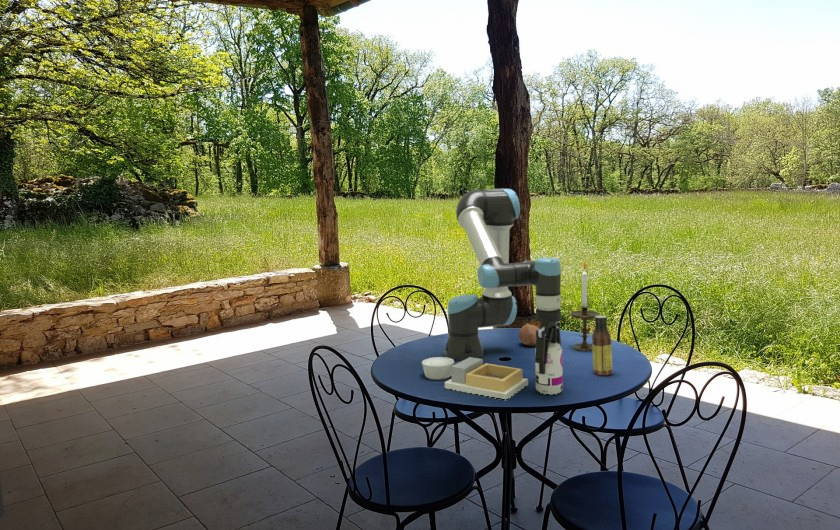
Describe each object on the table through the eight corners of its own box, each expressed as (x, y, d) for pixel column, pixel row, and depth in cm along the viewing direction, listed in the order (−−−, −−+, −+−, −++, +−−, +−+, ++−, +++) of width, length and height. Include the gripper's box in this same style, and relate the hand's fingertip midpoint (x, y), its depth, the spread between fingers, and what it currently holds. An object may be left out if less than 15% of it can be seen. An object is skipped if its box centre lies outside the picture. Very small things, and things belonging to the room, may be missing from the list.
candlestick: (574, 344, 222) (574, 259, 218) (601, 346, 216) (601, 260, 212) (567, 350, 213) (566, 262, 209) (595, 353, 207) (595, 263, 203)
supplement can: (560, 386, 173) (559, 340, 171) (564, 395, 165) (564, 347, 163) (534, 386, 174) (533, 341, 172) (537, 395, 165) (536, 348, 164)
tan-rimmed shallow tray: (444, 388, 175) (444, 367, 174) (469, 374, 188) (468, 355, 187) (506, 400, 162) (505, 378, 162) (528, 384, 175) (527, 364, 174)
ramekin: (417, 374, 191) (417, 359, 191) (446, 369, 196) (445, 355, 195) (430, 383, 181) (429, 367, 180) (460, 377, 185) (459, 362, 185)
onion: (523, 350, 226) (517, 327, 229) (545, 345, 224) (539, 321, 227) (520, 348, 217) (514, 324, 220) (543, 342, 215) (536, 318, 218)
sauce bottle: (612, 371, 186) (612, 314, 184) (612, 376, 180) (612, 318, 178) (592, 369, 188) (592, 314, 186) (591, 375, 182) (591, 317, 180)
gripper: (546, 315, 155) (547, 391, 158) (571, 303, 172) (572, 371, 175) (522, 313, 160) (523, 387, 162) (549, 301, 177) (550, 368, 179)
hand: (548, 379), depth 169 cm, fingers closed on supplement can, 8 cm apart
